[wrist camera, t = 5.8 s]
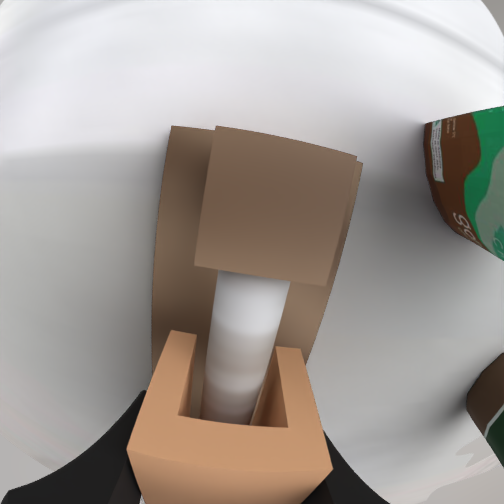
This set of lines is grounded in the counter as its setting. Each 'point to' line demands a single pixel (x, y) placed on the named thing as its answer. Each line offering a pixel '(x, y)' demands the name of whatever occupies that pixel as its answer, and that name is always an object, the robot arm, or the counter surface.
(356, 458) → the counter surface
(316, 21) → the counter surface
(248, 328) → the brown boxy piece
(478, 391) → the beer bottle
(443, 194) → the food container
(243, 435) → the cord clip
